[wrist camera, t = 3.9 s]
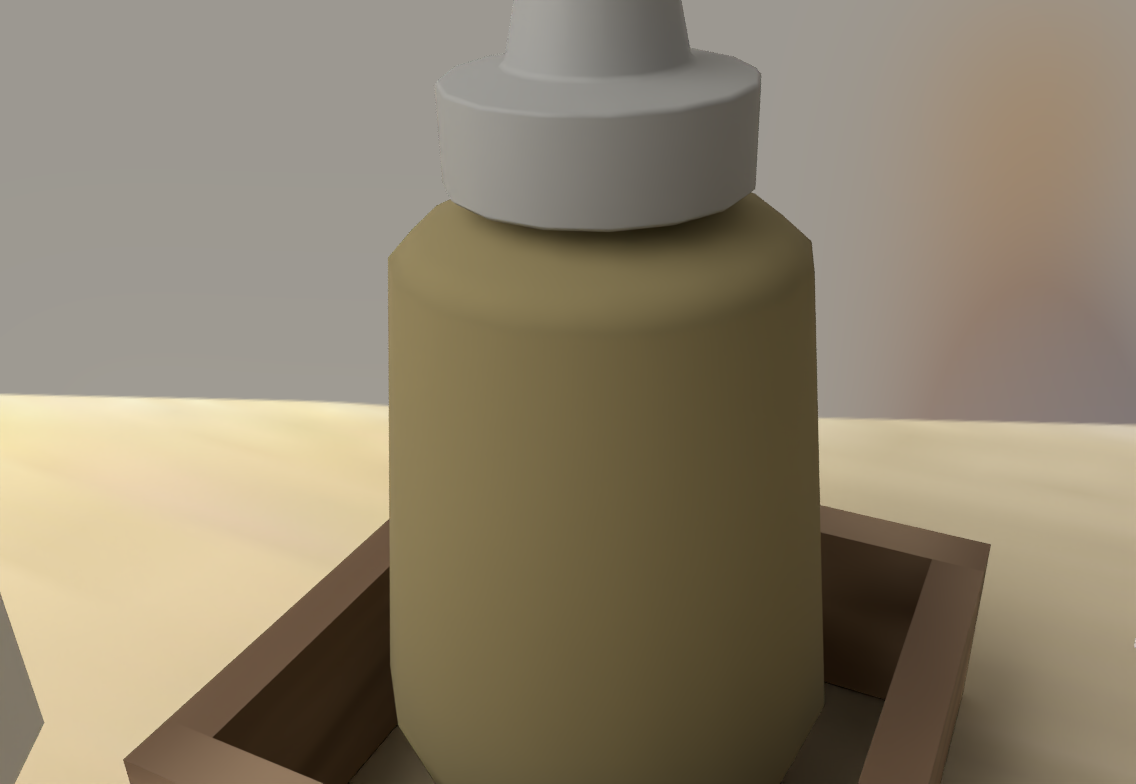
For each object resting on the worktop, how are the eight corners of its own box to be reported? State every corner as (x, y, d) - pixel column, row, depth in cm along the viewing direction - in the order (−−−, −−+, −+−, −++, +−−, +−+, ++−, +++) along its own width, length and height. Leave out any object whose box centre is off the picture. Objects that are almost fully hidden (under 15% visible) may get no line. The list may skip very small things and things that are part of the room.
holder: (963, 690, 24) (990, 544, 23) (823, 1253, 15) (851, 1081, 13) (498, 558, 29) (488, 428, 27) (171, 919, 20) (123, 759, 18)
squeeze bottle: (767, 650, 26) (832, -223, 17) (860, 969, 19) (1047, -250, 10) (425, 666, 26) (323, -207, 17) (386, 994, 18) (182, -226, 10)
